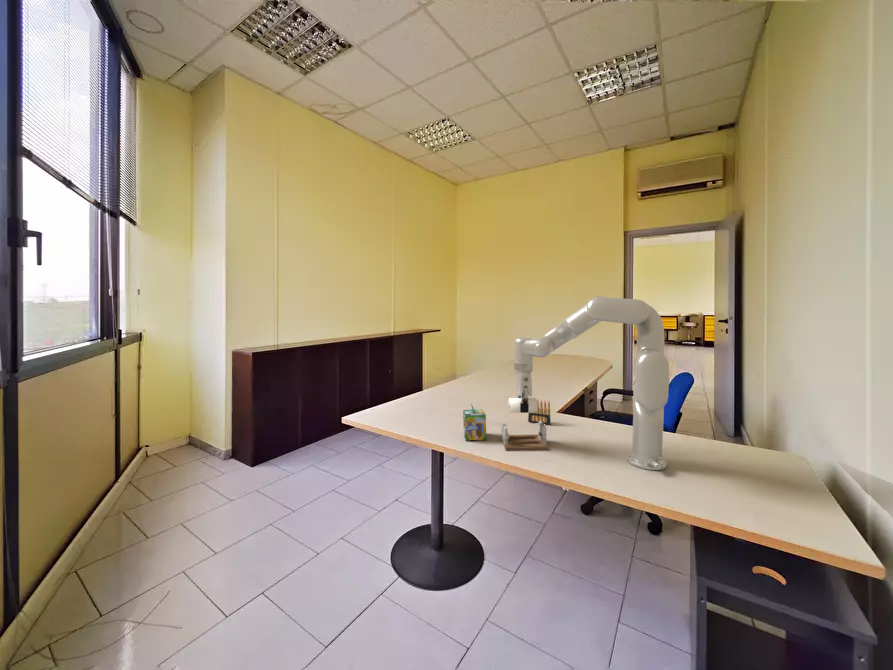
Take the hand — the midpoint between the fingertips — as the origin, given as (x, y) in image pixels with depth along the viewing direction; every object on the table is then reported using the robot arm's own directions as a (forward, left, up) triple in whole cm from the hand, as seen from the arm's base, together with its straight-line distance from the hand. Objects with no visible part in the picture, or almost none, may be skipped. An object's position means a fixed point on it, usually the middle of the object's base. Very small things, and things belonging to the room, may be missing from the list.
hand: (522, 409), depth 146 cm
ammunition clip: (+25, -13, -15) cm, 32 cm away
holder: (0, 0, -15) cm, 15 cm away
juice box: (+8, +20, -15) cm, 26 cm away
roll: (0, 0, -1) cm, 1 cm away
